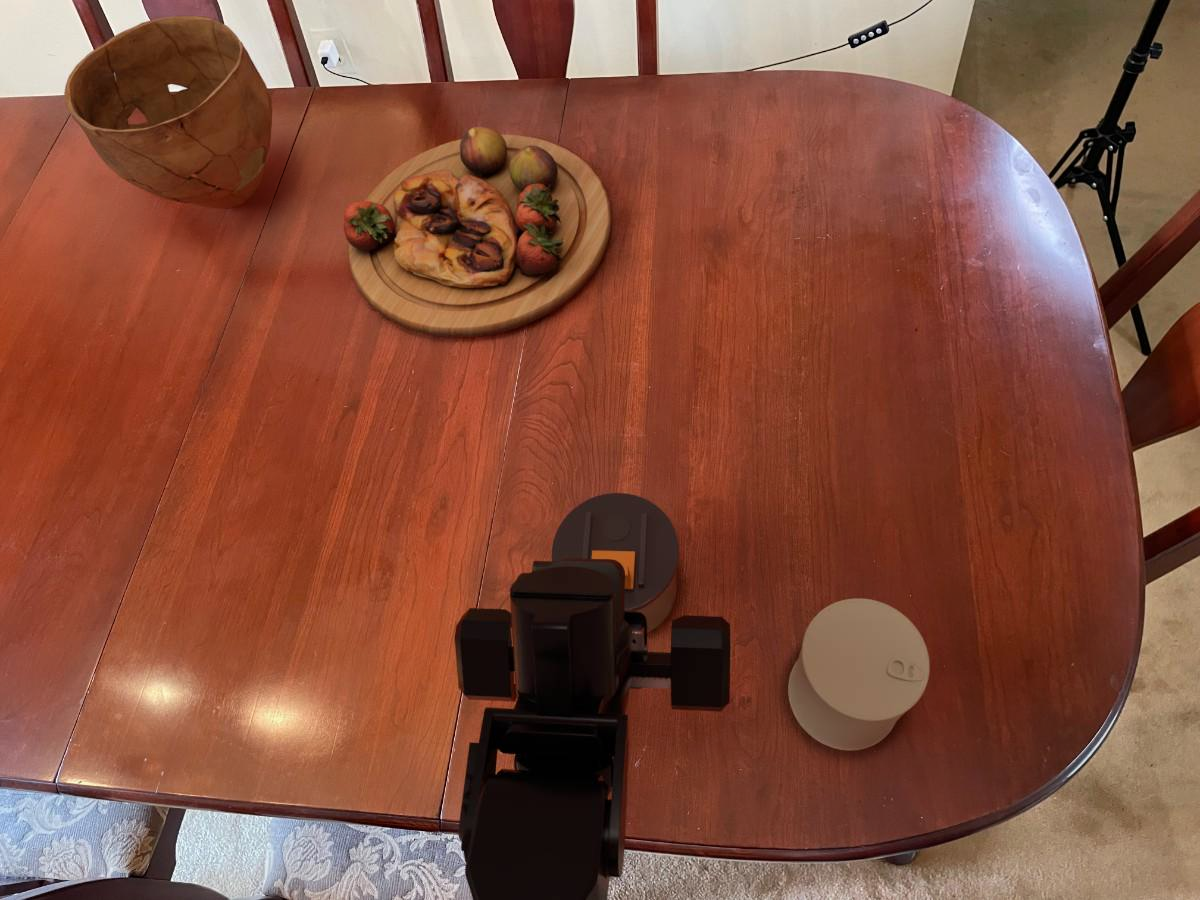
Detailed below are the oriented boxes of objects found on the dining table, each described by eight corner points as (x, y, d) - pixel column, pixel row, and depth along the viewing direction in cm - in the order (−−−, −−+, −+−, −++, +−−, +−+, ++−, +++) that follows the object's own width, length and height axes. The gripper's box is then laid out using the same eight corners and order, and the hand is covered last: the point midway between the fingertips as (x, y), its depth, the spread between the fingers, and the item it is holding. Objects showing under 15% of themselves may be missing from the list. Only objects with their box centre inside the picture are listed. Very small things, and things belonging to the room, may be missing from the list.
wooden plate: (318, 334, 98) (288, 287, 91) (393, 143, 113) (372, 90, 106) (589, 352, 93) (579, 304, 86) (629, 148, 108) (624, 93, 101)
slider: (633, 589, 69) (630, 575, 66) (589, 588, 70) (585, 574, 67) (635, 553, 71) (632, 537, 68) (592, 552, 71) (588, 536, 68)
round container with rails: (680, 645, 76) (677, 611, 68) (561, 641, 77) (544, 607, 69) (682, 534, 81) (680, 490, 73) (571, 532, 82) (556, 488, 74)
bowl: (207, 138, 118) (122, 2, 101) (337, 154, 113) (271, 14, 96) (130, 249, 109) (21, 121, 91) (268, 271, 104) (181, 140, 87)
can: (886, 767, 69) (918, 739, 59) (775, 728, 71) (787, 694, 61) (909, 661, 73) (943, 617, 63) (803, 627, 75) (818, 579, 65)
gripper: (734, 604, 48) (729, 510, 63) (417, 594, 50) (484, 505, 65) (731, 772, 51) (727, 644, 66) (432, 755, 53) (493, 636, 68)
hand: (607, 605), depth 66 cm, fingers closed
